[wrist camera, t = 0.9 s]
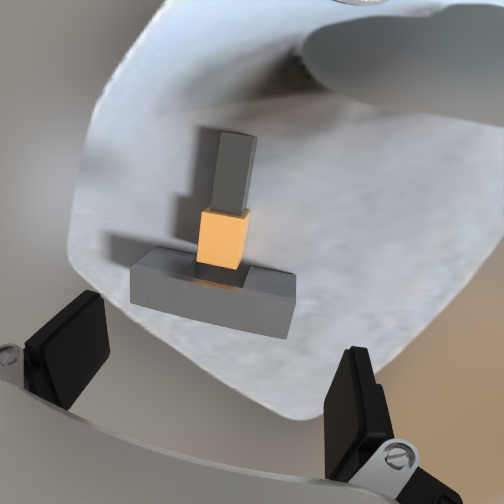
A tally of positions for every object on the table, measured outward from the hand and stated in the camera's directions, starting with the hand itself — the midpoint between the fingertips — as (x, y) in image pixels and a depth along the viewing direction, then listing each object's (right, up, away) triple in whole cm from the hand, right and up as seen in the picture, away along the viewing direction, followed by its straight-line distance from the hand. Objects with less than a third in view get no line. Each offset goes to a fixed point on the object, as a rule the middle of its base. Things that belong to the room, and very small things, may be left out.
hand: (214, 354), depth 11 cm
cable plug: (-1, +9, +21) cm, 23 cm away
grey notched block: (-2, +1, +24) cm, 24 cm away
